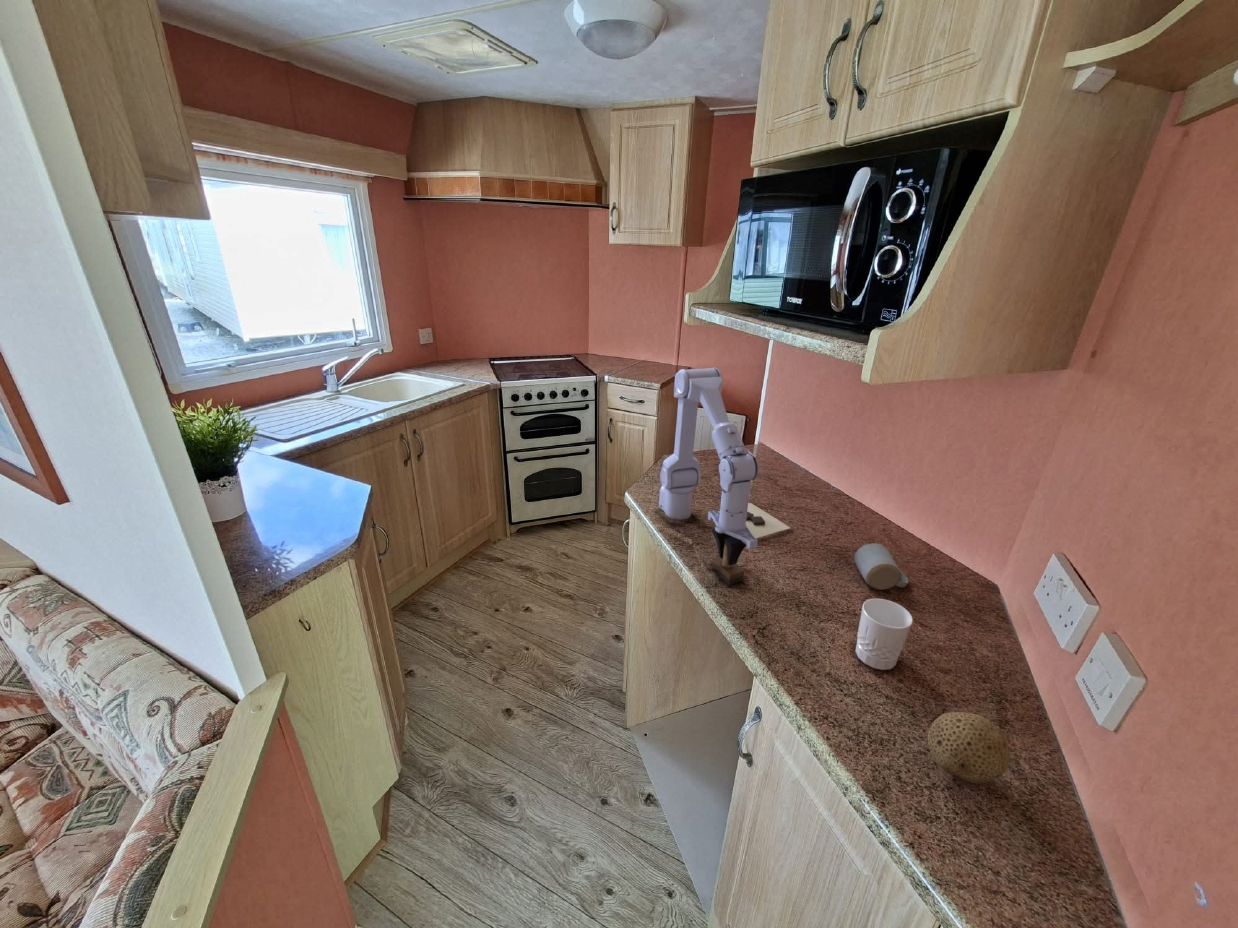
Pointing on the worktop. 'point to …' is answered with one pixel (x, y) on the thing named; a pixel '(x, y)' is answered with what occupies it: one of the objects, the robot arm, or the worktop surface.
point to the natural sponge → (968, 747)
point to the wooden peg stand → (727, 569)
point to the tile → (770, 523)
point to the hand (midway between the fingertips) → (727, 560)
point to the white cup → (882, 633)
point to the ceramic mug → (879, 567)
